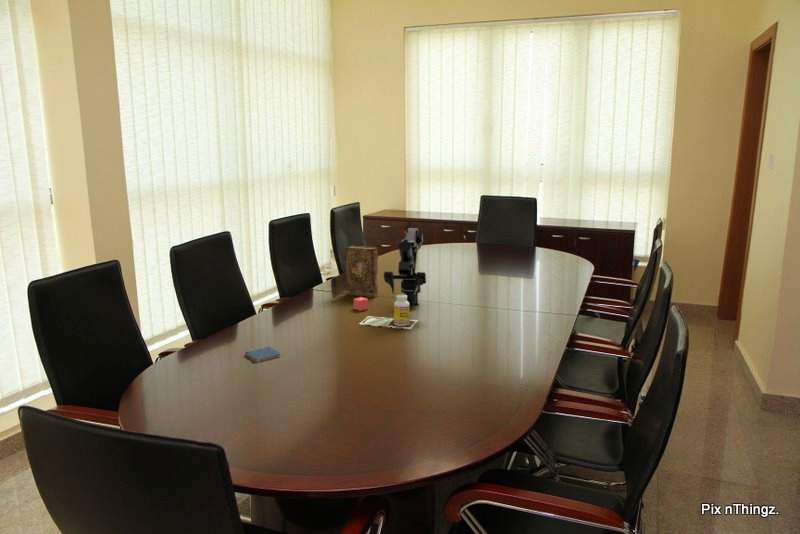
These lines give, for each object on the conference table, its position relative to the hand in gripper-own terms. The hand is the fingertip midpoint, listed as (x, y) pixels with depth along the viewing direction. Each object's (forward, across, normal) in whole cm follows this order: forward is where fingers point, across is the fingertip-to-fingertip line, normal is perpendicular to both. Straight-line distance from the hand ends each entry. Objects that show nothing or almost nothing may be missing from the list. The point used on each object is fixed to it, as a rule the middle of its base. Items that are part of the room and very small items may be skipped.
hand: (403, 293), depth 268 cm
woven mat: (+45, -47, -27) cm, 70 cm away
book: (-21, -26, +38) cm, 50 cm away
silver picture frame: (+12, -6, +5) cm, 14 cm away
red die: (-2, -22, +19) cm, 30 cm away
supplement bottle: (+13, 0, +5) cm, 14 cm away
